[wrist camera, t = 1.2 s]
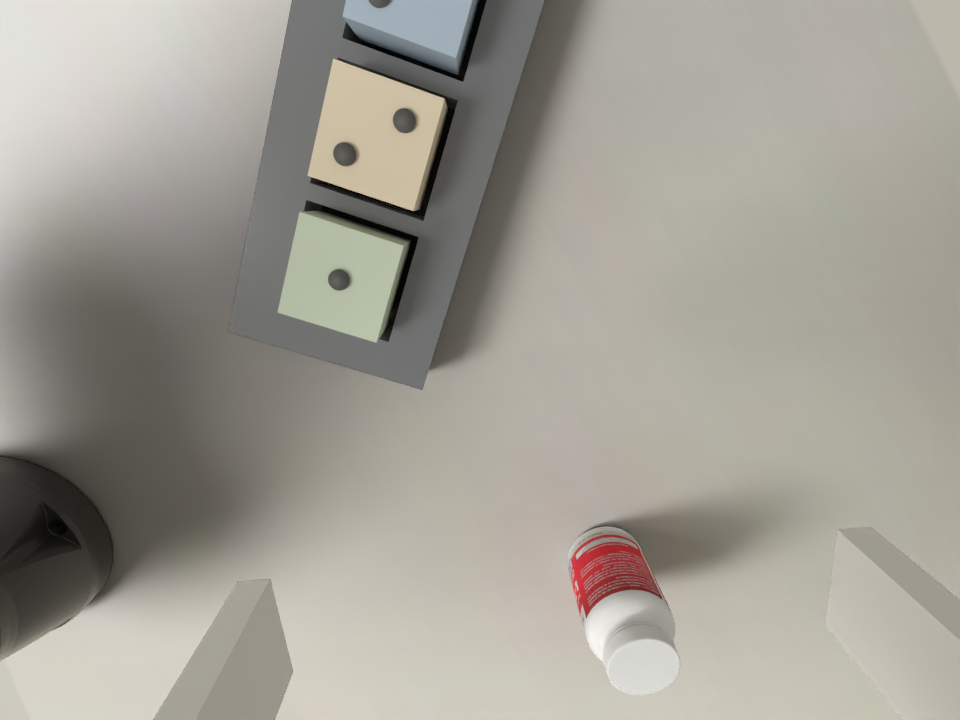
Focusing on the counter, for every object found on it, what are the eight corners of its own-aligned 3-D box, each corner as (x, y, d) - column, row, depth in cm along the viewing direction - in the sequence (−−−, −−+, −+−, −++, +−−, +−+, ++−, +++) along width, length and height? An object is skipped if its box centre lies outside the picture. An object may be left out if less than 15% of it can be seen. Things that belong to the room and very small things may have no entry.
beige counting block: (326, 178, 33) (306, 175, 29) (350, 75, 31) (332, 57, 27) (420, 209, 33) (412, 211, 29) (448, 110, 32) (444, 98, 28)
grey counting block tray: (252, 318, 38) (227, 331, 34) (347, -141, 30) (329, -190, 26) (427, 371, 39) (422, 389, 35) (561, -55, 31) (573, -91, 28)
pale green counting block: (298, 299, 35) (276, 313, 31) (319, 210, 33) (298, 211, 29) (387, 327, 35) (375, 343, 31) (411, 240, 34) (402, 246, 30)
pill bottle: (552, 548, 44) (576, 659, 33) (615, 510, 43) (662, 612, 32) (591, 597, 45) (627, 719, 35) (653, 562, 44) (710, 677, 34)
